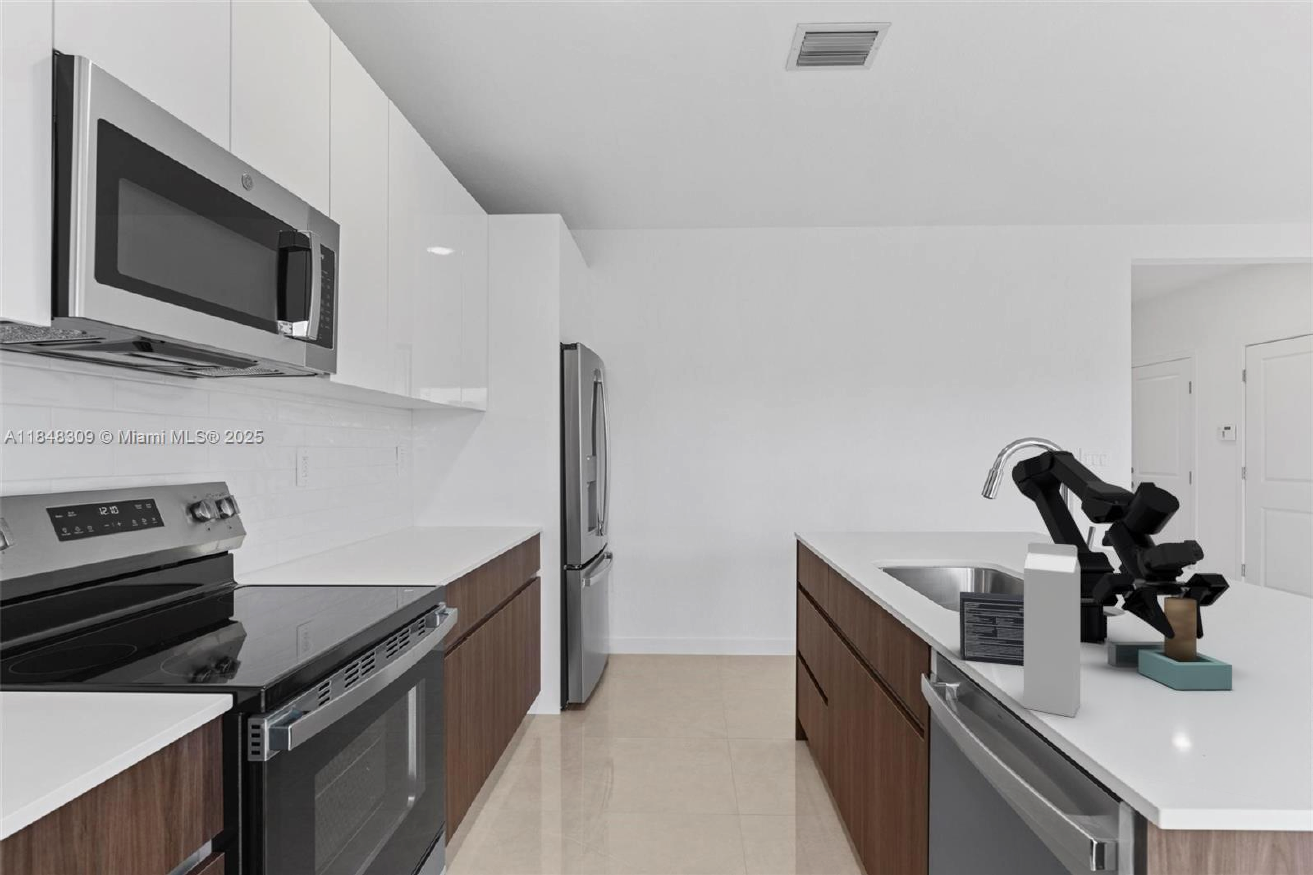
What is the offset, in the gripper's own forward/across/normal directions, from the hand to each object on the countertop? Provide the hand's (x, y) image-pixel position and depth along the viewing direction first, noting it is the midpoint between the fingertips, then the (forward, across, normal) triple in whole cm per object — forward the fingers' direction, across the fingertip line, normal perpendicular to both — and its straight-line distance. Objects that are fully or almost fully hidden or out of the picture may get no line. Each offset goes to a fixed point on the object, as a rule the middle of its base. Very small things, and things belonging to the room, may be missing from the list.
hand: (1186, 637), depth 113 cm
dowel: (+4, 0, +6) cm, 7 cm away
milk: (+12, -26, -2) cm, 29 cm away
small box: (-4, -23, +14) cm, 27 cm away
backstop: (-2, 0, +11) cm, 11 cm away
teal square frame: (+4, 0, +5) cm, 7 cm away
